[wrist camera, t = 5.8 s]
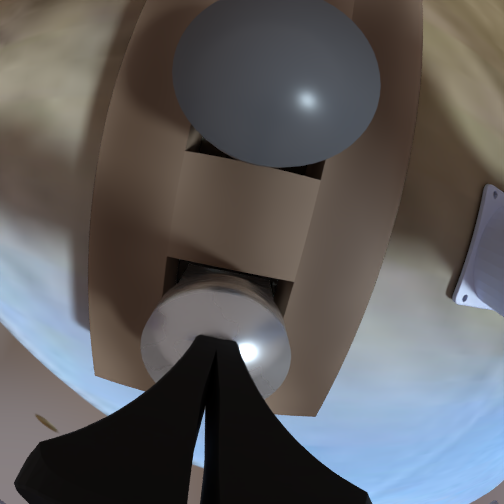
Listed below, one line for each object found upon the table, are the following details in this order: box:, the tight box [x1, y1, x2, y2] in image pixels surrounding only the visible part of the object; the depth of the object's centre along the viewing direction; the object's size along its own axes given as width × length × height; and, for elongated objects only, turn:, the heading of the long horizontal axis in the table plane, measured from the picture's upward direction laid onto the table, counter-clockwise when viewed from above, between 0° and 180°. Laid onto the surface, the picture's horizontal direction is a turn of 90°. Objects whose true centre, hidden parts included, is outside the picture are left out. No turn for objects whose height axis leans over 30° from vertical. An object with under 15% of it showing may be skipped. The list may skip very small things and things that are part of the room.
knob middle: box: [172, 0, 381, 168], centre depth 8 cm, size 5×5×4 cm
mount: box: [88, 0, 423, 417], centre depth 11 cm, size 12×28×3 cm, turn 168°
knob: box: [141, 264, 291, 407], centre depth 11 cm, size 5×5×4 cm
